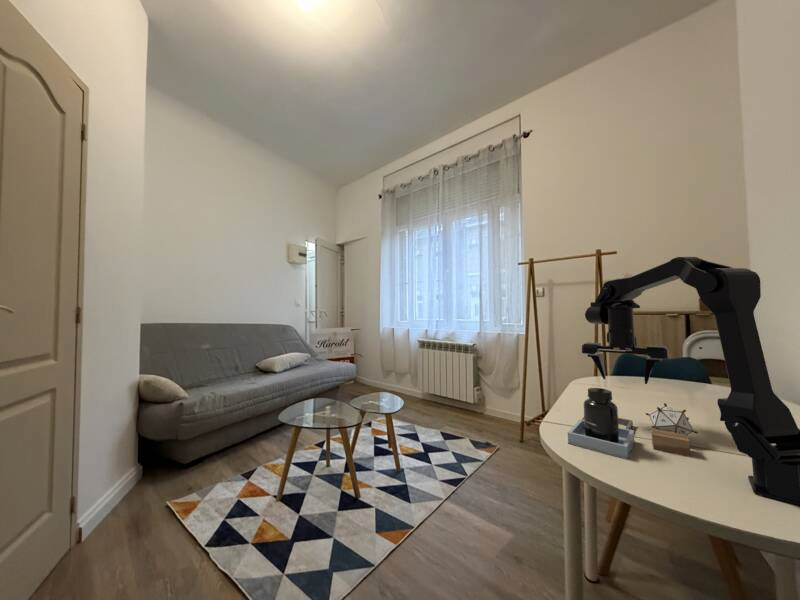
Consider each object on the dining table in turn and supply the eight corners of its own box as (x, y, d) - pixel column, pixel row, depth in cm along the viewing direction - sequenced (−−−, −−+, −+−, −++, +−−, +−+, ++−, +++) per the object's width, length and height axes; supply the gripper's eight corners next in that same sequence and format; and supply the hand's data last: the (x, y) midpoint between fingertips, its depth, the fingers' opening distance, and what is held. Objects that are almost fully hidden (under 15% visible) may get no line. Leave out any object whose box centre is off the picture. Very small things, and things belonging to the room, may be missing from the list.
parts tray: (627, 459, 62) (627, 446, 62) (568, 443, 70) (567, 432, 70) (634, 441, 70) (633, 430, 70) (580, 429, 78) (579, 419, 78)
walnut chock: (690, 457, 62) (689, 441, 62) (653, 450, 66) (652, 434, 66) (687, 450, 65) (686, 434, 65) (652, 443, 69) (651, 428, 69)
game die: (668, 457, 69) (642, 424, 69) (656, 431, 76) (632, 402, 77) (714, 447, 64) (686, 412, 65) (697, 421, 72) (671, 389, 72)
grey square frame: (627, 438, 71) (627, 432, 72) (579, 427, 79) (579, 421, 79) (632, 426, 79) (632, 420, 79) (588, 417, 86) (588, 412, 86)
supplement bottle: (583, 441, 69) (580, 391, 70) (587, 432, 74) (584, 385, 75) (618, 449, 65) (615, 395, 65) (620, 439, 70) (617, 389, 70)
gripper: (667, 324, 80) (671, 380, 79) (588, 323, 93) (591, 372, 92) (665, 325, 72) (669, 389, 71) (579, 325, 85) (582, 378, 84)
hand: (624, 381), depth 80 cm, fingers open, 9 cm apart
